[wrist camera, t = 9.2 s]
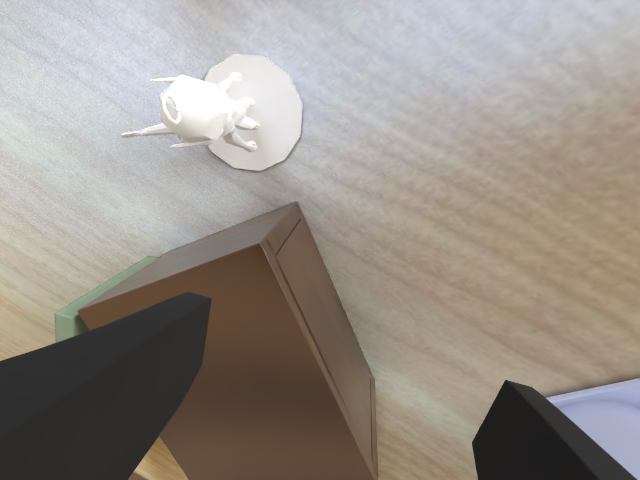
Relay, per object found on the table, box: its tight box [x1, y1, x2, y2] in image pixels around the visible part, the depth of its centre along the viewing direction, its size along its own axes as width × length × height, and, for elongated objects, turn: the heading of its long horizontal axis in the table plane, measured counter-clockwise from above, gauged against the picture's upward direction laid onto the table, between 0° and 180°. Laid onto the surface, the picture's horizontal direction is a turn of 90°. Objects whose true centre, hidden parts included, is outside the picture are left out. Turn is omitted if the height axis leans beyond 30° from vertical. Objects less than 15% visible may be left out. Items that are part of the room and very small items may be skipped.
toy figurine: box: [121, 54, 303, 171], centre depth 13 cm, size 5×8×7 cm, turn 100°
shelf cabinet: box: [77, 202, 378, 480], centre depth 17 cm, size 12×8×6 cm
